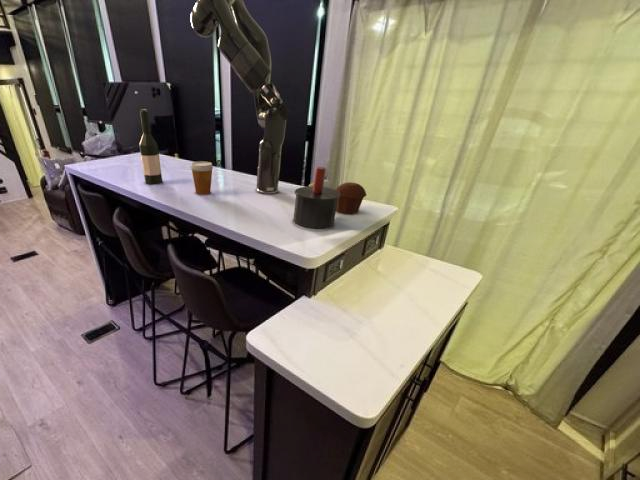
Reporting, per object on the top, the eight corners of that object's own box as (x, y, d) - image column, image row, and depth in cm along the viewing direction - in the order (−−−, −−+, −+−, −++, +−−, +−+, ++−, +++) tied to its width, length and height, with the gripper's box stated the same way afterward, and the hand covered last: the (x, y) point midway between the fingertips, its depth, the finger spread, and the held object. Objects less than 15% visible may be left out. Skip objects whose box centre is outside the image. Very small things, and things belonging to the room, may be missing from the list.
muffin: (328, 212, 117) (333, 185, 111) (332, 204, 125) (337, 178, 119) (361, 217, 113) (368, 189, 107) (363, 208, 122) (369, 181, 116)
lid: (286, 192, 105) (288, 165, 100) (319, 187, 110) (324, 161, 106) (313, 205, 94) (317, 175, 89) (349, 199, 100) (355, 170, 95)
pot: (285, 219, 110) (288, 191, 104) (316, 214, 115) (320, 186, 110) (309, 233, 100) (314, 202, 95) (341, 226, 105) (347, 197, 100)
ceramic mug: (304, 198, 131) (307, 179, 126) (320, 196, 134) (323, 177, 129) (320, 206, 123) (323, 186, 119) (336, 203, 126) (340, 184, 122)
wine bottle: (160, 184, 146) (150, 110, 128) (142, 184, 146) (130, 110, 128) (164, 180, 152) (155, 109, 135) (147, 180, 152) (136, 108, 135)
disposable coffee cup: (211, 189, 141) (209, 160, 134) (216, 195, 133) (215, 165, 127) (190, 190, 138) (188, 161, 131) (194, 196, 131) (192, 166, 124)
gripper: (244, 80, 94) (278, 124, 100) (237, 79, 83) (277, 129, 88) (262, 58, 91) (297, 105, 96) (258, 54, 79) (298, 107, 85)
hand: (287, 116), depth 92 cm, fingers open, 8 cm apart
